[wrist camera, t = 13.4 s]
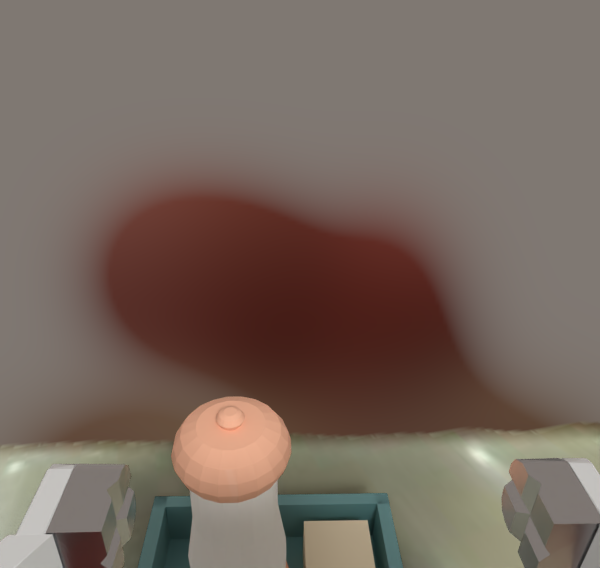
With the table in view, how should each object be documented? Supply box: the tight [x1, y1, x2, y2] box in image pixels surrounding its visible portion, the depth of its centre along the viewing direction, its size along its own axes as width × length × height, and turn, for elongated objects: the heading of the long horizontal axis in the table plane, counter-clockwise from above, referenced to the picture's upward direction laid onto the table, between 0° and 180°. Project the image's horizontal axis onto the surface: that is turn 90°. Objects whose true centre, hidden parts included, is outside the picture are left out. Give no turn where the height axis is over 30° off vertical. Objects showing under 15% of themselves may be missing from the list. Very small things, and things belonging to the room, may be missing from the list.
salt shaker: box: [171, 397, 291, 568], centre depth 35 cm, size 7×7×19 cm
